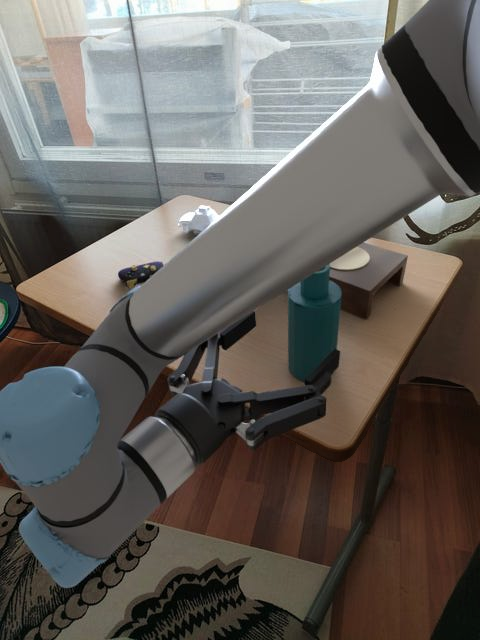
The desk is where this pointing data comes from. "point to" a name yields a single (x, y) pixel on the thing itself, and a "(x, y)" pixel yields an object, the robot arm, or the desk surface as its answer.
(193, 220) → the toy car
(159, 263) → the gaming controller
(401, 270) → the dark brown wooden block
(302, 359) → the bottle
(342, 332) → the desk surface
